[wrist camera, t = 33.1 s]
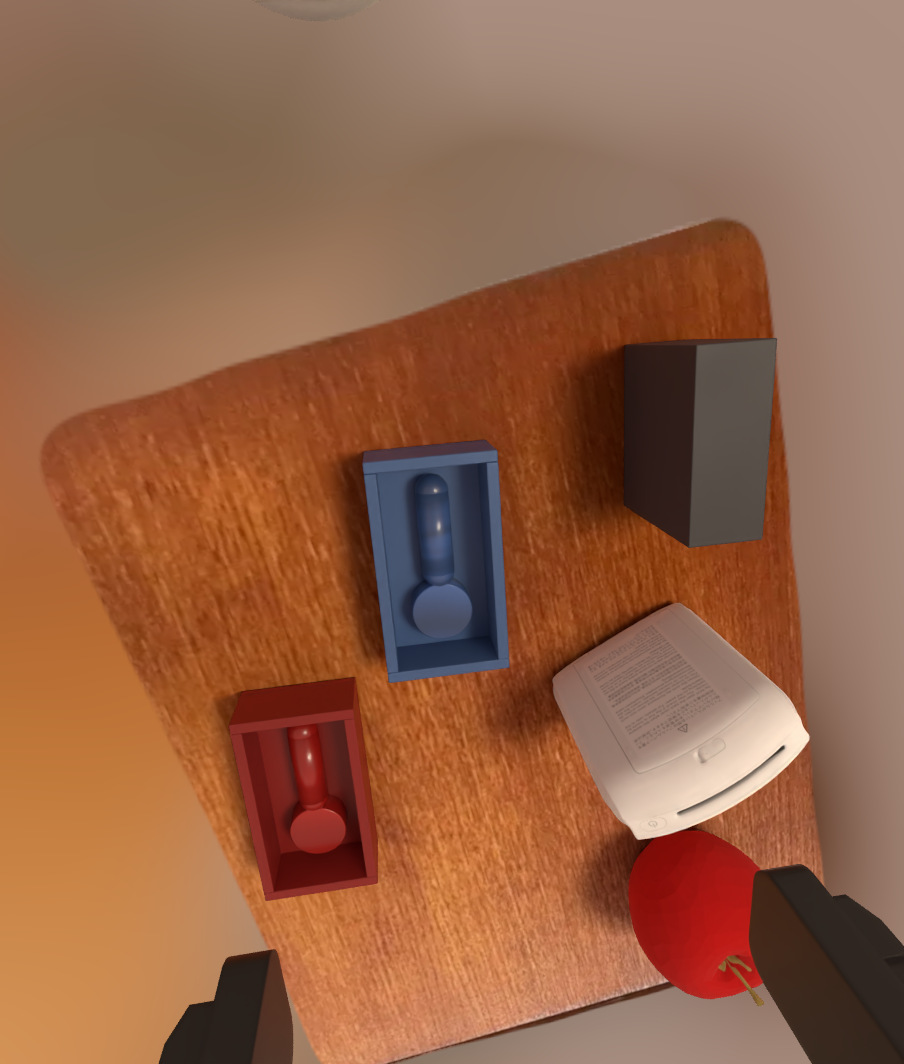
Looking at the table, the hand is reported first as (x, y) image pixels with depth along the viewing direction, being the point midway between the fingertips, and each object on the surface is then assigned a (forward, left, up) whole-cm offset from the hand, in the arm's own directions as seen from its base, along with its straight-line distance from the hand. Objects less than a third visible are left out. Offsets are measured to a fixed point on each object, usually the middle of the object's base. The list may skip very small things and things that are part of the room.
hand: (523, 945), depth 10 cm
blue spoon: (+2, +1, -26) cm, 26 cm away
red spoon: (+15, -8, -26) cm, 31 cm away
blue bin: (+2, +1, -26) cm, 26 cm away
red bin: (+15, -8, -26) cm, 31 cm away
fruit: (+27, +16, -26) cm, 41 cm away
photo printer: (+10, +12, -26) cm, 31 cm away
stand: (-4, +14, -26) cm, 30 cm away
